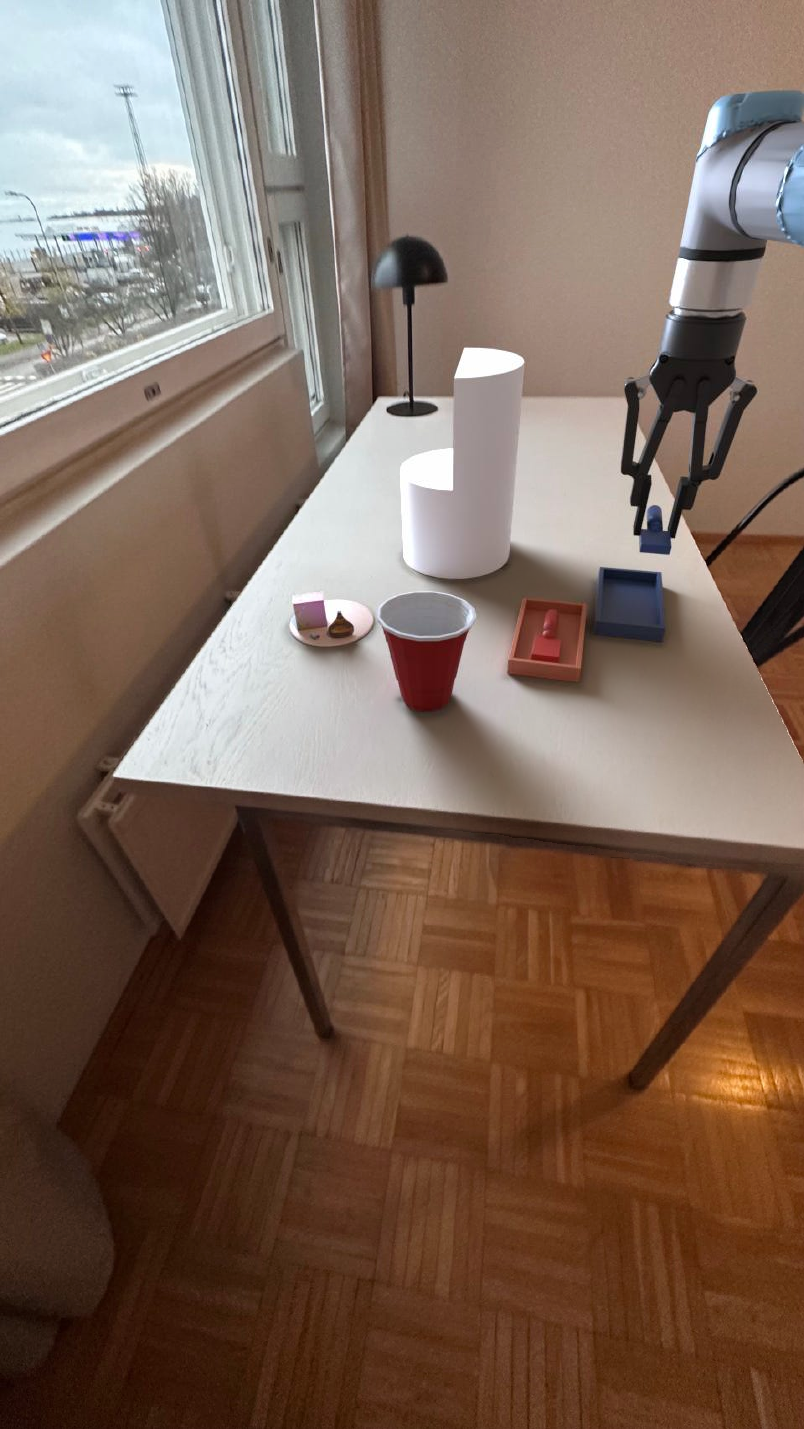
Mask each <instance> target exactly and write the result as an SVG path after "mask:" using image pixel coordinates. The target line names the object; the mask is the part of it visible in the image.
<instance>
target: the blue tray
mask: <svg viewBox="0 0 804 1429" xmlns="http://www.w3.org/2000/svg"><path fill="white" fill-rule="evenodd" d="M598 569H599V570H598V573H597V574H598V575H597V581H596V582H597V583H596V596H595V608H594V619H593V620H594V622H593V635H597V636H606V637H615V638H624V639H631V640H632V639H633V640H642V641H651V642H659V643H660V642H661V643H662V642H663V639H664V636H665V632H666V617H665V616H666V615H665V614H666V613H665V602H664V588H663V575H662V572H661V571H651V570H641V569H629V568H618V567H608V566H607V567H605V566H599V568H598Z"/></svg>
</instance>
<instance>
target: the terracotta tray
mask: <svg viewBox="0 0 804 1429" xmlns="http://www.w3.org/2000/svg"><path fill="white" fill-rule="evenodd" d="M550 609H555V610H556V611H557V612H558V613H559V619H558V625H557V632H556V638H559V639H562V641H561V648H560V655H559V662H558V663H551V662H543V661H535V660H531V654H532V649H533V644H534V639H535V636H542V630H543V625H544V620H545V614H546V612H547V611H548V610H550ZM587 610H588V603H584V602H583V603H582V602H573V601H564V600H553V599H545V598H533V597H522V600H521V606H520V608H519V613H518V617H517V621H516V626H515V631H514V633H513V638H512V642H511V646H510V649H509V650H510V651H509V656H508V658H507V668H506V674H510V675H518V676H523V677H524V676H525V677H533V678H541V679H549V680H555V681H556V680H557V681H564V682H572V683H579V682H580V677H581V671H582V664H583V653H584V642H585V630H586V622H587V621H586V620H587Z"/></svg>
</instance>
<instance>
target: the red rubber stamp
mask: <svg viewBox="0 0 804 1429" xmlns="http://www.w3.org/2000/svg"><path fill="white" fill-rule="evenodd" d="M558 619H559V613H558V612H557V611H556V610H555V609H550V610H548V611H547V612H546V614H545V620H544V625H543V630H542V636H535V639H534V644H533V649H532V654H531V660H535V661H543V662H551V663H558V662H559V655H560V648H561V641H562V639H559V638H556V632H557V625H558Z"/></svg>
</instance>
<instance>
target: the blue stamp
mask: <svg viewBox="0 0 804 1429" xmlns="http://www.w3.org/2000/svg"><path fill="white" fill-rule="evenodd" d="M638 550H639V553H643V554H655V555H663V556H664V555H666V556H670V554H671V551H672V538H671V536H670V531H668V530H664V524H663V512H662V508H661V506H659V505H657V504H652V505H650V506H649V507H648V508H647V509H646V528H642V529H641V532H640V536H638Z"/></svg>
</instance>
